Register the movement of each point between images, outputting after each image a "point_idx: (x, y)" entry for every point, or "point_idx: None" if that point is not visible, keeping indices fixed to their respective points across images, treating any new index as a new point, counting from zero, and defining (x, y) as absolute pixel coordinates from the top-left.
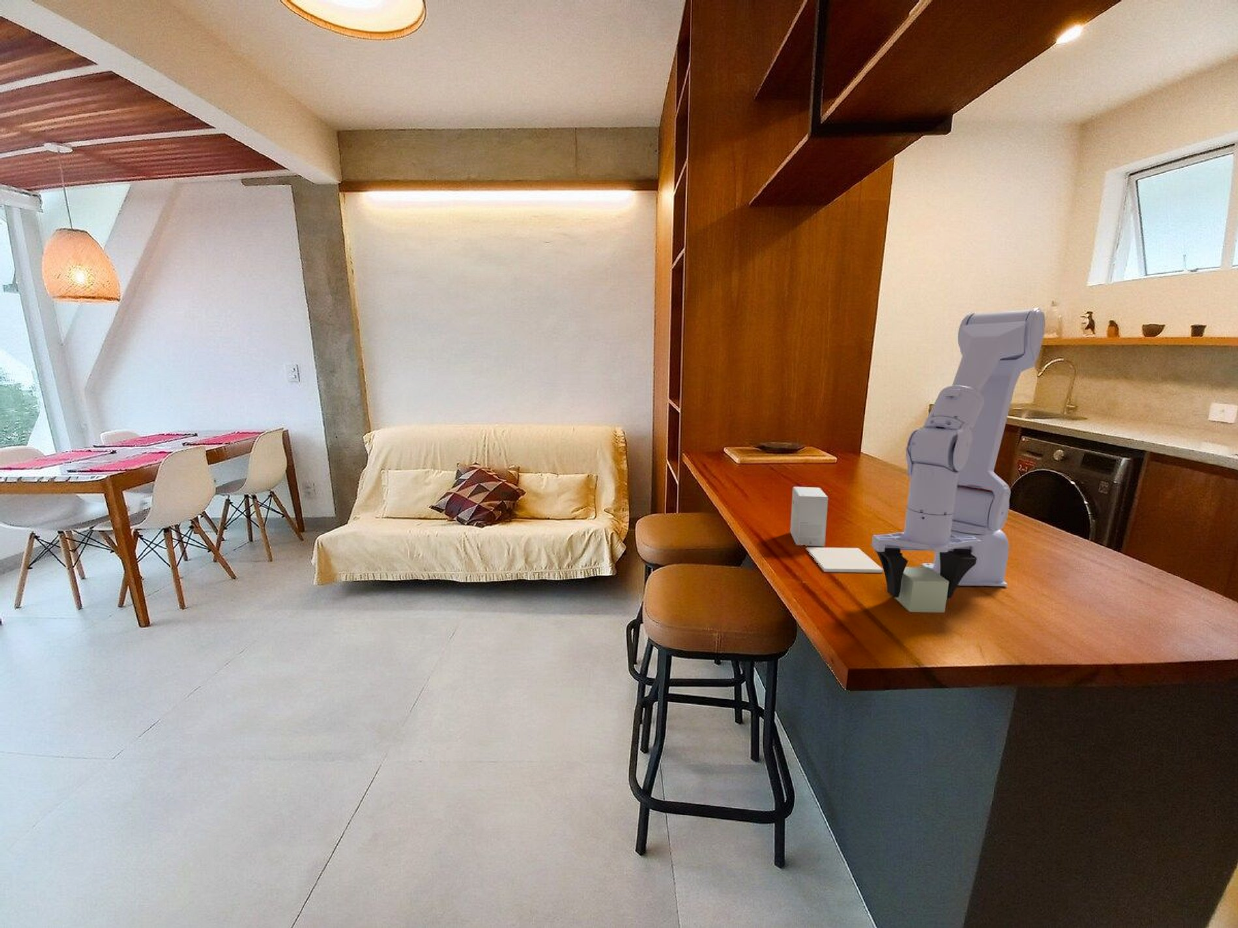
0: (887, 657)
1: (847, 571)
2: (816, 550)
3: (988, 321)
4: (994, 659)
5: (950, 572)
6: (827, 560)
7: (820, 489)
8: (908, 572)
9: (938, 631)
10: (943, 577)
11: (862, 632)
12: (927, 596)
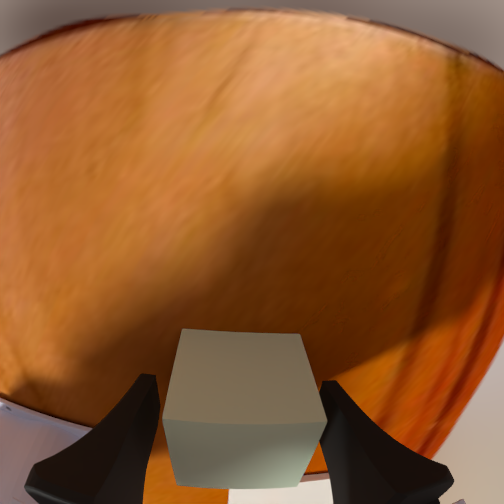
0: (499, 107)
1: (313, 475)
2: None
3: None
4: (219, 34)
5: (130, 456)
6: (328, 494)
7: None
8: (285, 467)
9: (292, 209)
10: (146, 445)
11: (492, 220)
12: (250, 371)
